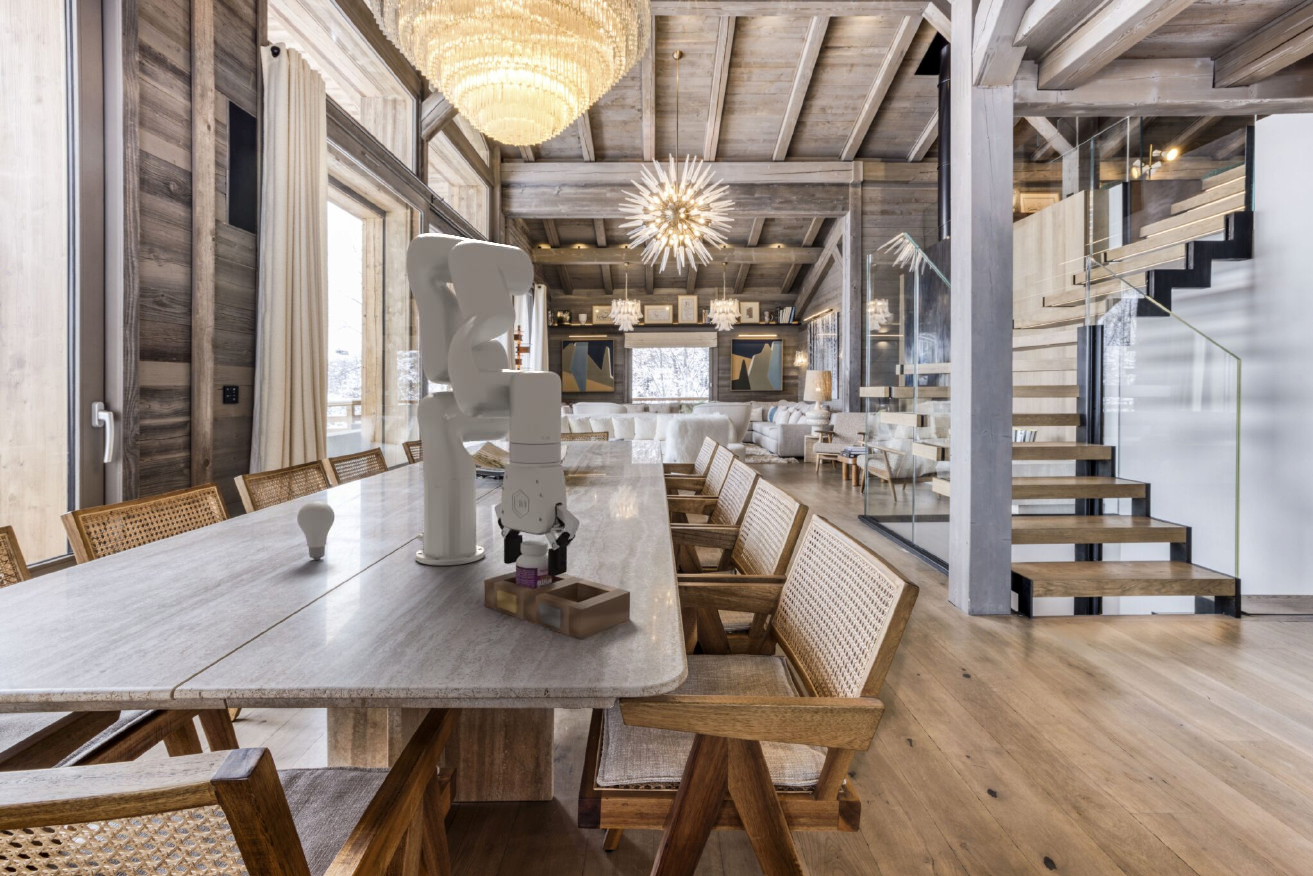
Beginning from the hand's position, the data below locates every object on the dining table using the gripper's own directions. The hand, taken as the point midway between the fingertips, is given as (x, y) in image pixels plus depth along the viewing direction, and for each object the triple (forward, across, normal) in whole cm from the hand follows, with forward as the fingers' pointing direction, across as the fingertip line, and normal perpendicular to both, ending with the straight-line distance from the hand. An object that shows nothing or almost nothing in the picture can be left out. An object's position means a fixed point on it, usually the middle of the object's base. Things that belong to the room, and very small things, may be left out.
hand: (534, 567), depth 97 cm
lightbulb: (+6, -50, -9) cm, 51 cm away
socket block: (+6, +4, 0) cm, 7 cm away
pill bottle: (+6, 0, 0) cm, 6 cm away
